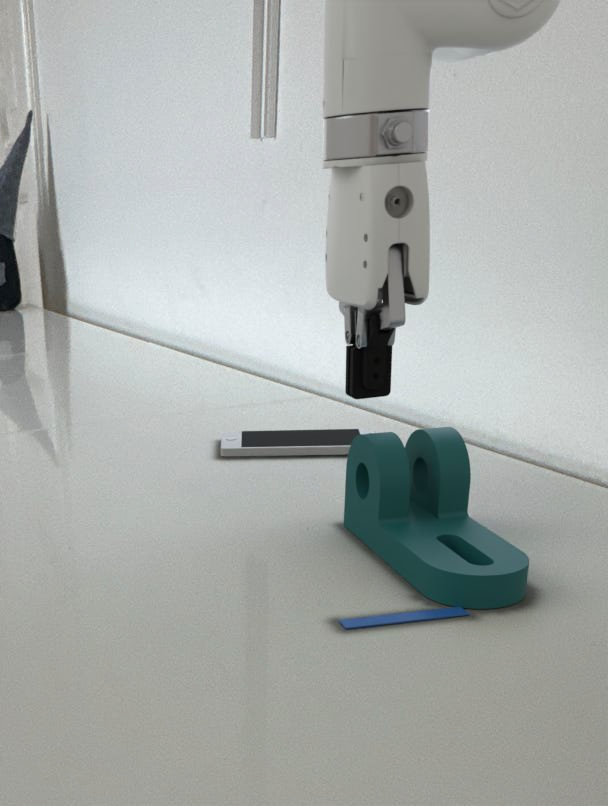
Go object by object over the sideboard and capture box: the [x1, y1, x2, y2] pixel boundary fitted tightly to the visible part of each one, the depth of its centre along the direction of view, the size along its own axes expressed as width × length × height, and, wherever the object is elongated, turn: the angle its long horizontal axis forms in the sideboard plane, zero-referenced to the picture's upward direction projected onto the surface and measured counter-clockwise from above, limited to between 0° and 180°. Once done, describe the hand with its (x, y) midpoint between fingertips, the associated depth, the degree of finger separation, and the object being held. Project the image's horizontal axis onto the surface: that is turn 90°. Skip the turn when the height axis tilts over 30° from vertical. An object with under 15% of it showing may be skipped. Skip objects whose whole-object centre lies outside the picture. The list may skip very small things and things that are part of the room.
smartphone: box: [220, 427, 376, 457], centre depth 100 cm, size 7×16×1 cm, turn 84°
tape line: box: [338, 606, 470, 630], centre depth 62 cm, size 8×1×1 cm, turn 99°
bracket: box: [343, 426, 530, 610], centre depth 69 cm, size 18×7×8 cm, turn 9°
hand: (367, 395), depth 81 cm, fingers closed
